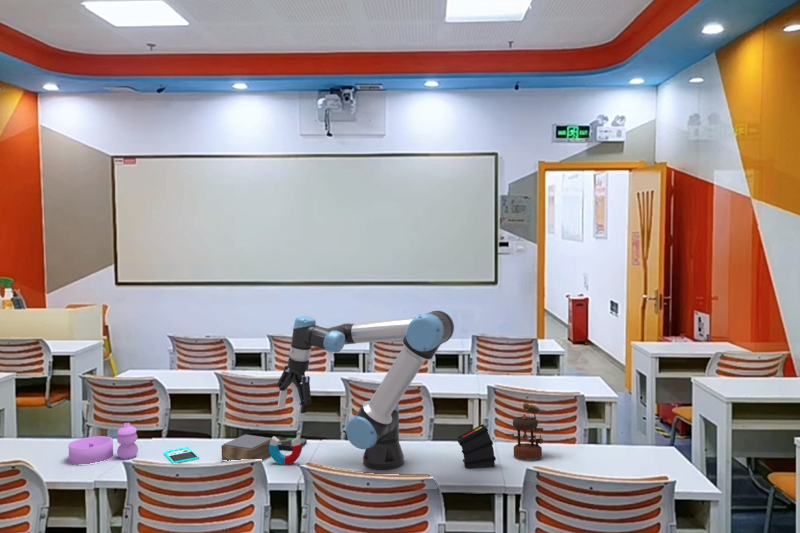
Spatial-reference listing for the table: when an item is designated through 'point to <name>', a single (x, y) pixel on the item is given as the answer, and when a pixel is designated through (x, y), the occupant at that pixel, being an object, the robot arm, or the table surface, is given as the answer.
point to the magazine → (477, 448)
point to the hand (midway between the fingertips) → (290, 413)
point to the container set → (104, 447)
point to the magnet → (283, 458)
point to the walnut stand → (246, 448)
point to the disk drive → (288, 443)
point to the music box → (526, 424)
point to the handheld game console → (181, 455)
